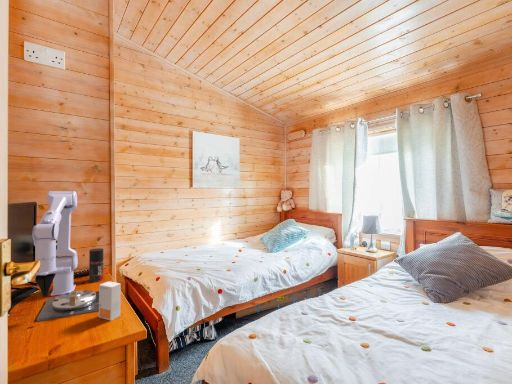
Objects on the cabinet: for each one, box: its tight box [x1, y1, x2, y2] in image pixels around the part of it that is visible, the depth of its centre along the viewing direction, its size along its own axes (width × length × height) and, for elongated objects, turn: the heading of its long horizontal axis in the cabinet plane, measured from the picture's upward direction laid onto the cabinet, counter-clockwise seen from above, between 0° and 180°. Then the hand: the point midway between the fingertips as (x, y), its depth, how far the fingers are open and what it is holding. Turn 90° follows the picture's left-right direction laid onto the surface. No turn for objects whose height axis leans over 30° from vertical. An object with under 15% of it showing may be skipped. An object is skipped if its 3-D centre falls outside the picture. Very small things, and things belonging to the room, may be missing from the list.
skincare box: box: [98, 280, 122, 322], centre depth 97 cm, size 6×4×12 cm
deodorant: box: [88, 247, 104, 283], centre depth 133 cm, size 6×6×15 cm
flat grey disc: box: [53, 289, 96, 311], centre depth 104 cm, size 16×14×6 cm
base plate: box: [36, 290, 99, 322], centre depth 105 cm, size 19×20×1 cm
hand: (45, 295), depth 95 cm, fingers closed
